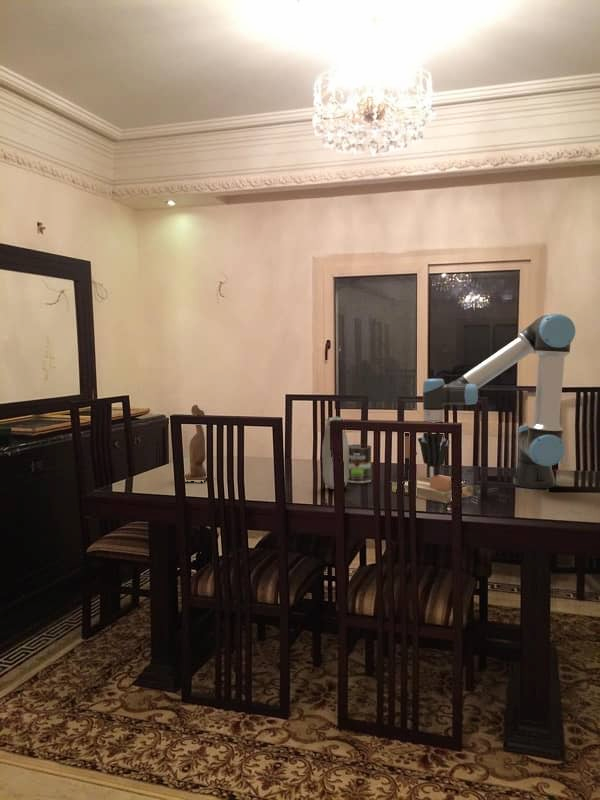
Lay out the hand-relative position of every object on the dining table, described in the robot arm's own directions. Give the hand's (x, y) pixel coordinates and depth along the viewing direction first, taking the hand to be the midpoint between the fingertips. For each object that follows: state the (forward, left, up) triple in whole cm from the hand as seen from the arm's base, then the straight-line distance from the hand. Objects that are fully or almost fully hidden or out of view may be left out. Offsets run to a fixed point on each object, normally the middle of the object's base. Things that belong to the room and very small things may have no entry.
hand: (433, 483), depth 234 cm
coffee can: (+5, -33, -3) cm, 34 cm away
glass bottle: (+22, -29, -3) cm, 37 cm away
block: (0, +5, -1) cm, 5 cm away
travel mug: (-14, -23, -3) cm, 27 cm away
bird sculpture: (+51, -82, -3) cm, 97 cm away
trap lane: (+3, 0, -3) cm, 4 cm away
